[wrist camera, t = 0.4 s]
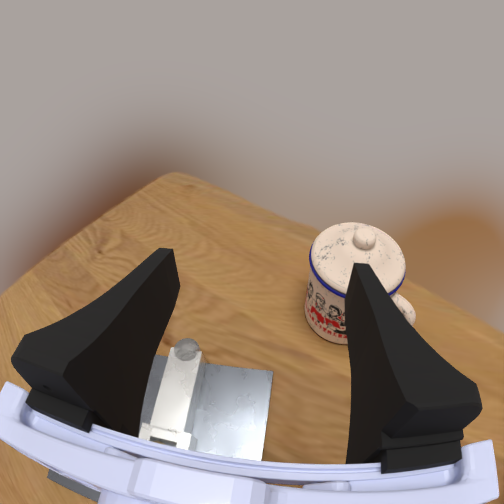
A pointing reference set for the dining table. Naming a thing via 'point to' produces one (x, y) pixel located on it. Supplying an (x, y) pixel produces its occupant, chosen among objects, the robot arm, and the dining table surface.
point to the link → (177, 397)
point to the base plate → (212, 414)
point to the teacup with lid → (339, 271)
